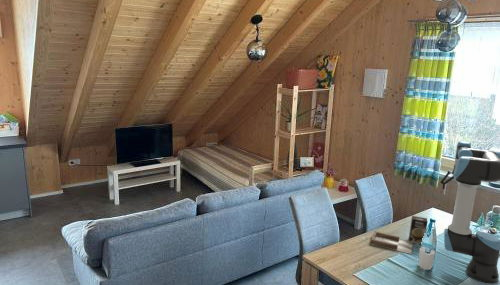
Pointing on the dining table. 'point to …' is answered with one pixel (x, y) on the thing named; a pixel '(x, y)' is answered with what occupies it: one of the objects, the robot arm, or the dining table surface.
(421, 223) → the coffee box
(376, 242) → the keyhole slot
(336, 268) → the dining table surface
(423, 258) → the white cup
